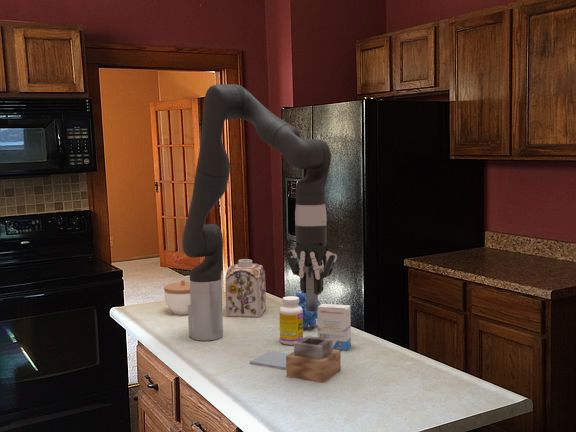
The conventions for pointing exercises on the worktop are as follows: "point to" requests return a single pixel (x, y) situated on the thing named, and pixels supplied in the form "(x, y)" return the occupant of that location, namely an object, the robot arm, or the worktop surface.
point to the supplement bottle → (291, 321)
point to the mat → (271, 359)
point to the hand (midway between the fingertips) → (311, 292)
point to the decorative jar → (245, 289)
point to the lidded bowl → (178, 297)
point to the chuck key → (310, 288)
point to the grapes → (308, 316)
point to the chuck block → (313, 359)
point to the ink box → (335, 325)
